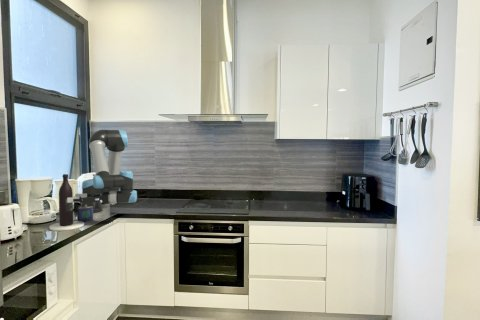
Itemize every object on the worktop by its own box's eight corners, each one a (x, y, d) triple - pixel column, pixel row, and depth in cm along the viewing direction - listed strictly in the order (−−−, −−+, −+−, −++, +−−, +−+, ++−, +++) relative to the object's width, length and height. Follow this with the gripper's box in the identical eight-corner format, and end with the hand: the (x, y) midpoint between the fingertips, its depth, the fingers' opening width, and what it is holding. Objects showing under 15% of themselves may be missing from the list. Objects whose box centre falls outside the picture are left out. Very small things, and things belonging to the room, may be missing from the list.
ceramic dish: (56, 223, 188) (56, 221, 188) (87, 222, 191) (87, 220, 191) (43, 231, 170) (43, 229, 170) (78, 230, 174) (78, 228, 174)
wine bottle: (66, 226, 176) (65, 175, 175) (56, 225, 178) (55, 174, 177) (75, 223, 183) (75, 174, 181) (66, 222, 185) (65, 173, 183)
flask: (92, 219, 198) (92, 203, 198) (94, 220, 196) (93, 204, 196) (77, 222, 192) (76, 205, 191) (78, 223, 190) (78, 206, 189)
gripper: (105, 207, 172) (64, 208, 168) (114, 199, 197) (78, 200, 192) (104, 194, 172) (63, 195, 168) (114, 188, 196) (78, 188, 192)
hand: (71, 198), depth 180 cm, fingers open, 13 cm apart
